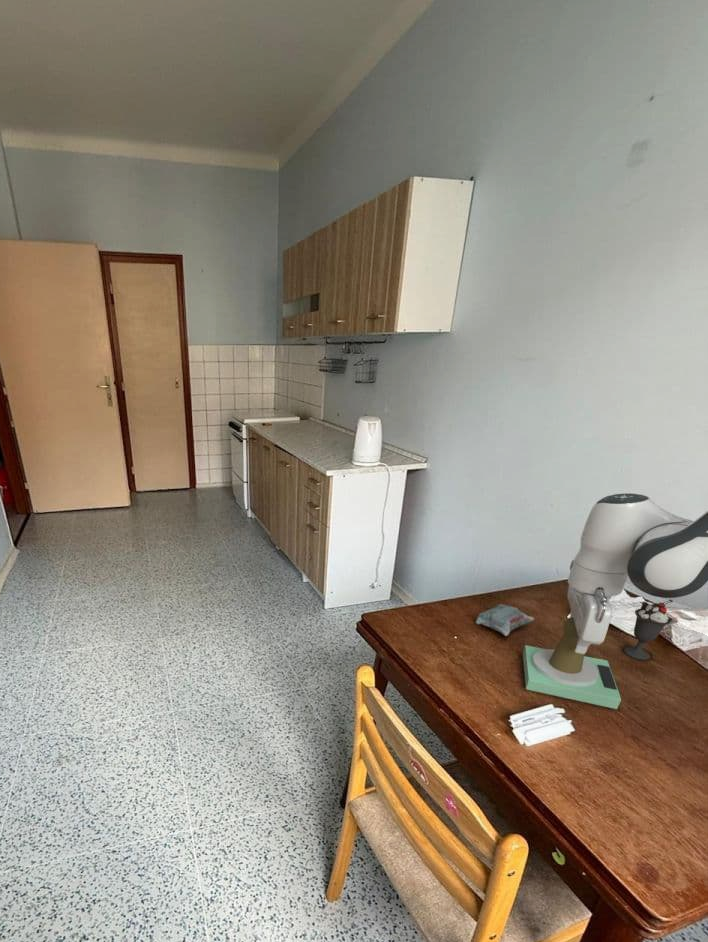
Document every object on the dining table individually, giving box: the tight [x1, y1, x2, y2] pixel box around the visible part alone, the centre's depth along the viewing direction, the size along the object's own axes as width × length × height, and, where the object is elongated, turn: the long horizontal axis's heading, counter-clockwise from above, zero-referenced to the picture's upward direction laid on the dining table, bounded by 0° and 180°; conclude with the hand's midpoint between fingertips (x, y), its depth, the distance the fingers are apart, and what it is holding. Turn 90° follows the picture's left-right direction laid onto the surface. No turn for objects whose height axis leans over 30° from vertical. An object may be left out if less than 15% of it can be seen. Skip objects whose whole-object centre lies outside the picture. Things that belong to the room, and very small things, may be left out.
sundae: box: [623, 598, 674, 661], centre depth 105 cm, size 7×7×15 cm
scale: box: [522, 644, 622, 710], centre depth 100 cm, size 16×14×4 cm
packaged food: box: [475, 603, 535, 637], centre depth 119 cm, size 9×12×5 cm
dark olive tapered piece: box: [549, 616, 585, 674], centre depth 97 cm, size 6×6×11 cm
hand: (576, 639), depth 96 cm, fingers open, 8 cm apart
